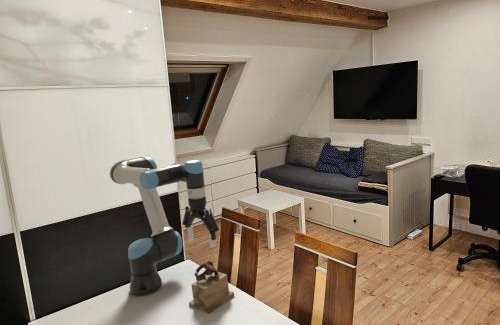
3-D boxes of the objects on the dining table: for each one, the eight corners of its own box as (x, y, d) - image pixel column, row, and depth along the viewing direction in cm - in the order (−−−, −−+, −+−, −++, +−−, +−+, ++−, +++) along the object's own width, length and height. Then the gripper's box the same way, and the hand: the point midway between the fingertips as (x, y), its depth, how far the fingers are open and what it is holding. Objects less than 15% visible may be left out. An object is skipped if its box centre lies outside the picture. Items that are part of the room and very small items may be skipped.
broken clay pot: (220, 285, 147) (208, 272, 144) (202, 294, 149) (190, 281, 146) (222, 265, 158) (212, 253, 155) (205, 274, 160) (195, 262, 157)
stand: (189, 305, 151) (186, 284, 149) (214, 288, 163) (212, 268, 161) (209, 313, 143) (206, 291, 142) (234, 295, 155) (232, 274, 154)
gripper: (171, 195, 153) (176, 241, 157) (211, 202, 138) (216, 253, 141) (184, 191, 159) (189, 235, 162) (224, 197, 143) (228, 246, 147)
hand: (201, 243), depth 152 cm, fingers open, 13 cm apart
